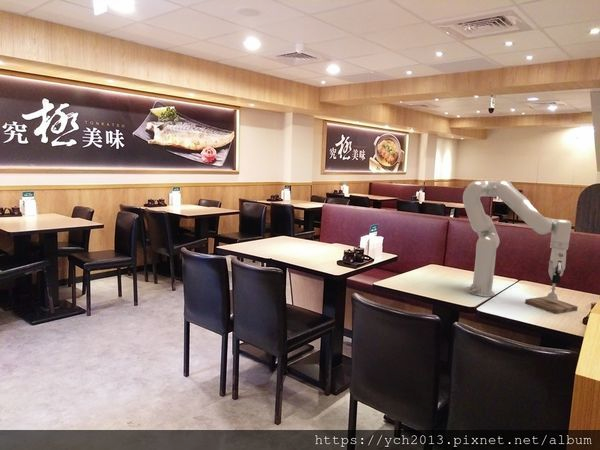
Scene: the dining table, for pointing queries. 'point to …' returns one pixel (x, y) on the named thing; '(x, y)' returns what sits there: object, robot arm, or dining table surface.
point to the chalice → (551, 273)
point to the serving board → (551, 305)
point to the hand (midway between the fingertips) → (554, 281)
